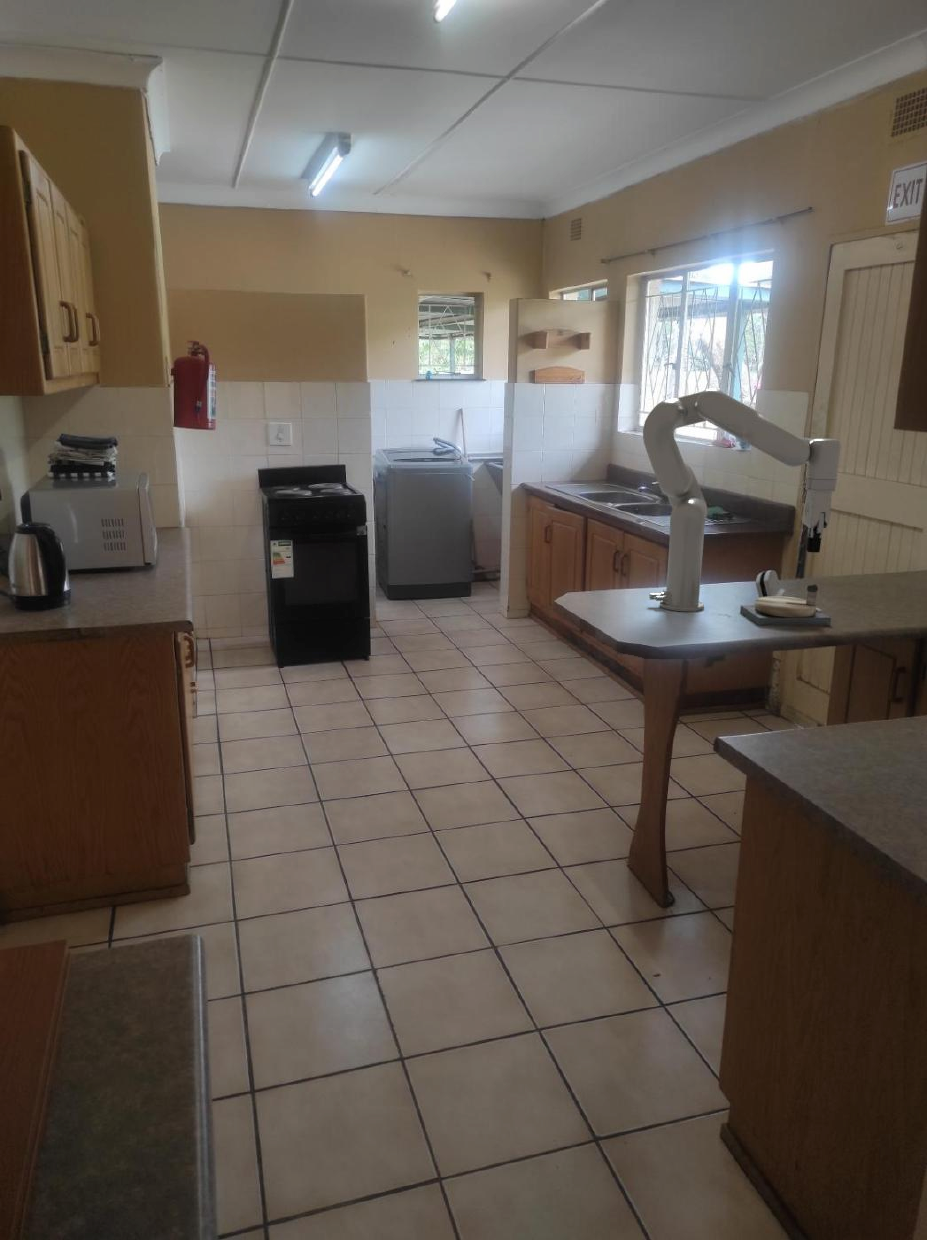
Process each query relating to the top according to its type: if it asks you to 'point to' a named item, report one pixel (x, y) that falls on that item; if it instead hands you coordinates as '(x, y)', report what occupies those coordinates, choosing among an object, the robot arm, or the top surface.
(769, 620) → the wheel base
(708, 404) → the robot arm
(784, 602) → the wheel
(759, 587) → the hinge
